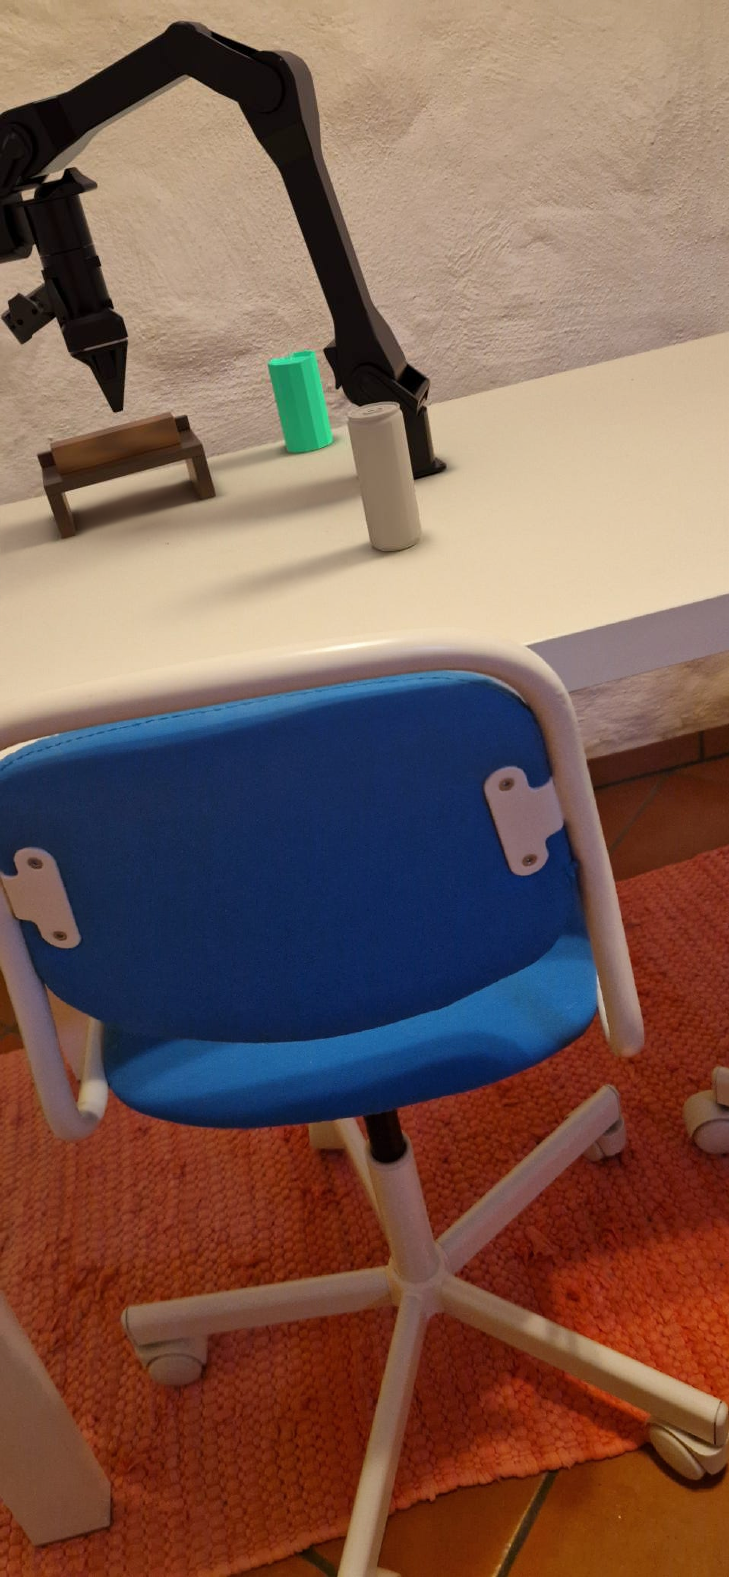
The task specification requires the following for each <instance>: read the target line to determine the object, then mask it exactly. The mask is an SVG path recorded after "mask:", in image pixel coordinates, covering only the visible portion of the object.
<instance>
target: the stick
mask: <svg viewBox="0 0 729 1577" xmlns="http://www.w3.org/2000/svg"><path fill="white" fill-rule="evenodd" d="M179 443H181V442H180V438H179V434H178V431H177V427H176V424H175V420H174V416H173V414H172V413H171V411H167V412H164V413H160V414H156V415H152V416H149V417H145V418H141V419H137V420H133V421H130V422H126V423H122V424H118V425H114V426H110V427H106V428H103V429H99V430H96V431H92V432H87V433H84V434H81V435H77V436H76V435H75V436H73V437H72V436H71V437H69V438H65V439H61V440H57V441H54V442H50V443H49V447H50V450H51V452H52V454H53V457H54V460H55V463H56V466H57V469H58V472H59V475H63V474H67V473H71V472H74V471H78V470H82V469H86V468H89V467H93V466H97V465H100V464H104V463H108V462H112V461H115V460H119V459H123V458H127V457H130V456H134V455H138V454H141V453H145V452H149V451H153V450H156V449H160V448H164V447H168V446H171V445H175V444H179Z"/></svg>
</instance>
